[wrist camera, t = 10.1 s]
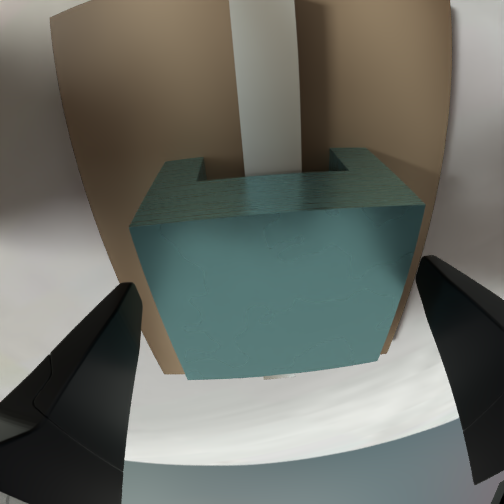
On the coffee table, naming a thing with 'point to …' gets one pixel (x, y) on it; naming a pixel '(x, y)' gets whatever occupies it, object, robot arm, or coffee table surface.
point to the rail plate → (247, 102)
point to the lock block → (277, 264)
